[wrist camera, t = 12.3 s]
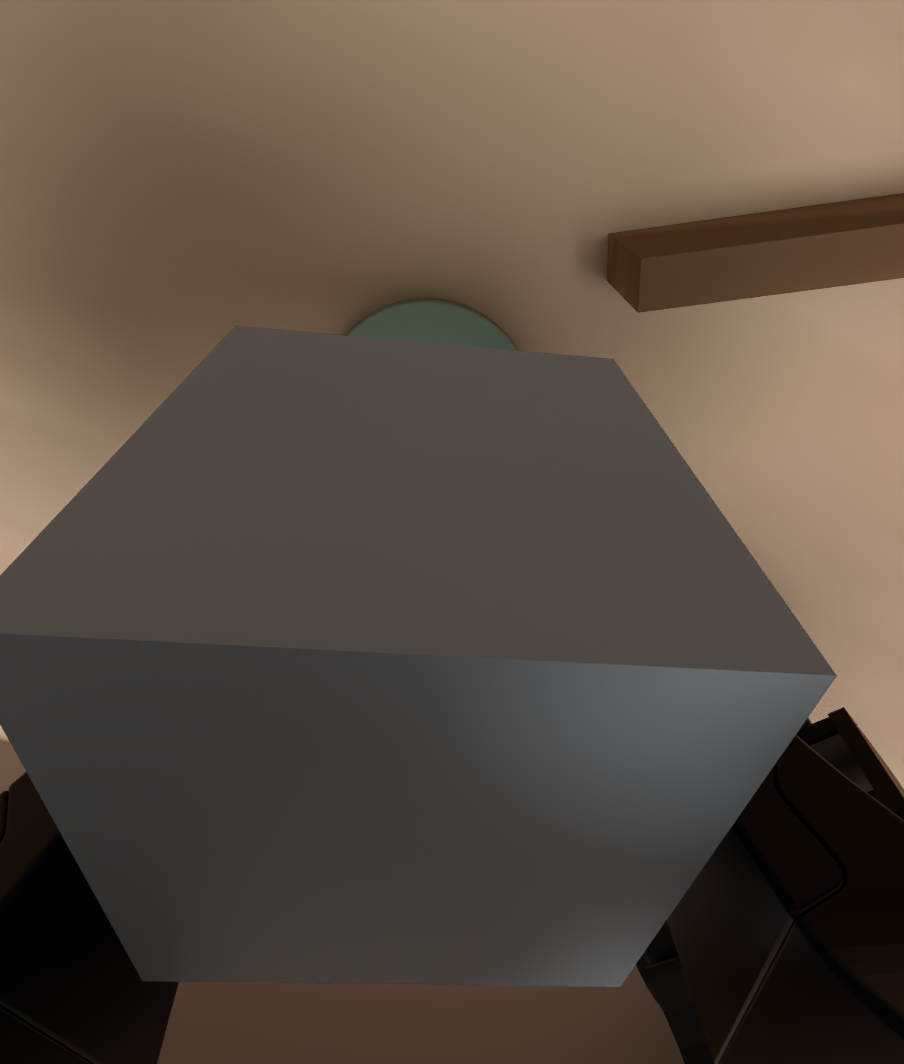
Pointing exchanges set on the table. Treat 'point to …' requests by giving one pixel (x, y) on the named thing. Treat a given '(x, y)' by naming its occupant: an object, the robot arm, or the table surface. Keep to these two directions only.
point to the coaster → (433, 325)
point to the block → (396, 669)
